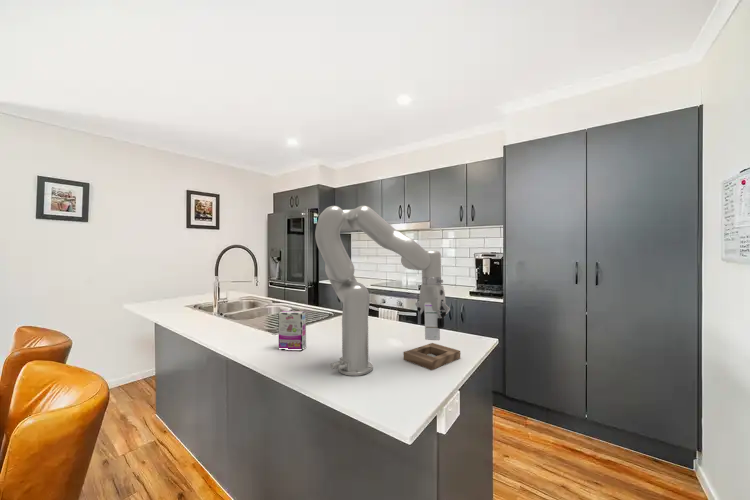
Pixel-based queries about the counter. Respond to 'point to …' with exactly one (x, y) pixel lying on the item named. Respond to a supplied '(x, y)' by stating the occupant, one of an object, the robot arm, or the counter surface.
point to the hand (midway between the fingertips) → (432, 325)
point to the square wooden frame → (429, 362)
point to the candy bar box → (292, 329)
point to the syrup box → (431, 323)
